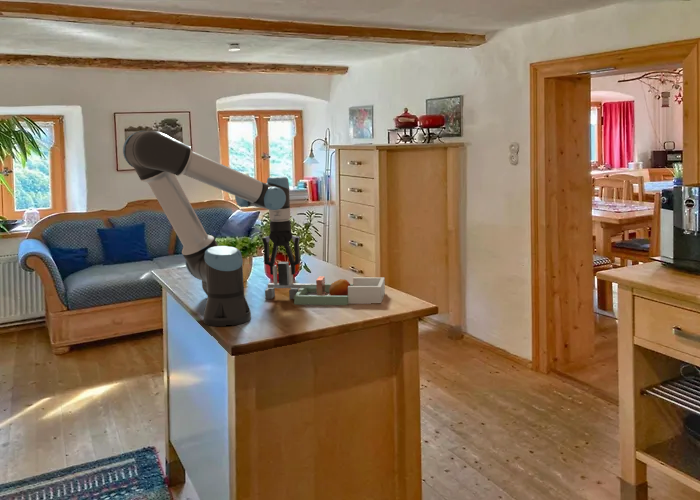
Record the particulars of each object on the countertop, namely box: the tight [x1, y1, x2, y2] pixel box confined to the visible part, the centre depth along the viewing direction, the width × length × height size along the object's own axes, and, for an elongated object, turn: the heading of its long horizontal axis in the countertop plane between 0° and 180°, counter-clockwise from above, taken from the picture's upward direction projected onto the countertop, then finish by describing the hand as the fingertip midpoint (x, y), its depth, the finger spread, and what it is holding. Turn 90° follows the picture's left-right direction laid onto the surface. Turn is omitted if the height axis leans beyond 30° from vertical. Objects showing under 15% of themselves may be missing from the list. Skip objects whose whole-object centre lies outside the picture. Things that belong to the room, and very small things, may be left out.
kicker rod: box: [267, 261, 326, 296], centre depth 231 cm, size 20×6×12 cm, turn 82°
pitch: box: [264, 283, 353, 306], centre depth 231 cm, size 31×18×3 cm, turn 82°
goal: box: [348, 276, 386, 305], centre depth 228 cm, size 12×14×6 cm
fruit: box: [328, 278, 351, 296], centre depth 230 cm, size 8×8×8 cm
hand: (283, 283), depth 232 cm, fingers open, 5 cm apart
